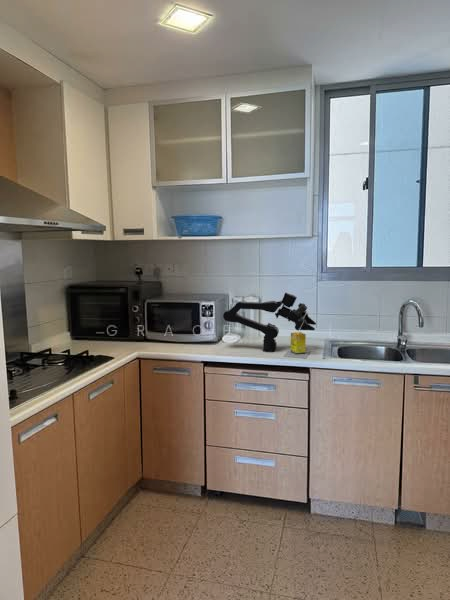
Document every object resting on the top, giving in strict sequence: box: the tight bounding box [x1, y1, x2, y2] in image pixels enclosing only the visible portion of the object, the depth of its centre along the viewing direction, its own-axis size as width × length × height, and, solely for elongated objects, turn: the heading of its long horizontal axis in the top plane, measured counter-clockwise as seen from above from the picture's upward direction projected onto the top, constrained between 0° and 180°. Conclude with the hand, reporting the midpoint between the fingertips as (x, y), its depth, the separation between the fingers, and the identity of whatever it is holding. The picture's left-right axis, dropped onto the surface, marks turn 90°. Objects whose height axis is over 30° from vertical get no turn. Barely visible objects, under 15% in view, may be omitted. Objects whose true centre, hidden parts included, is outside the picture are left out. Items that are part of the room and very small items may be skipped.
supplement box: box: [289, 331, 307, 355], centre depth 221 cm, size 6×6×11 cm
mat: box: [283, 350, 310, 359], centre depth 219 cm, size 12×12×1 cm
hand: (315, 326), depth 221 cm, fingers open, 9 cm apart
